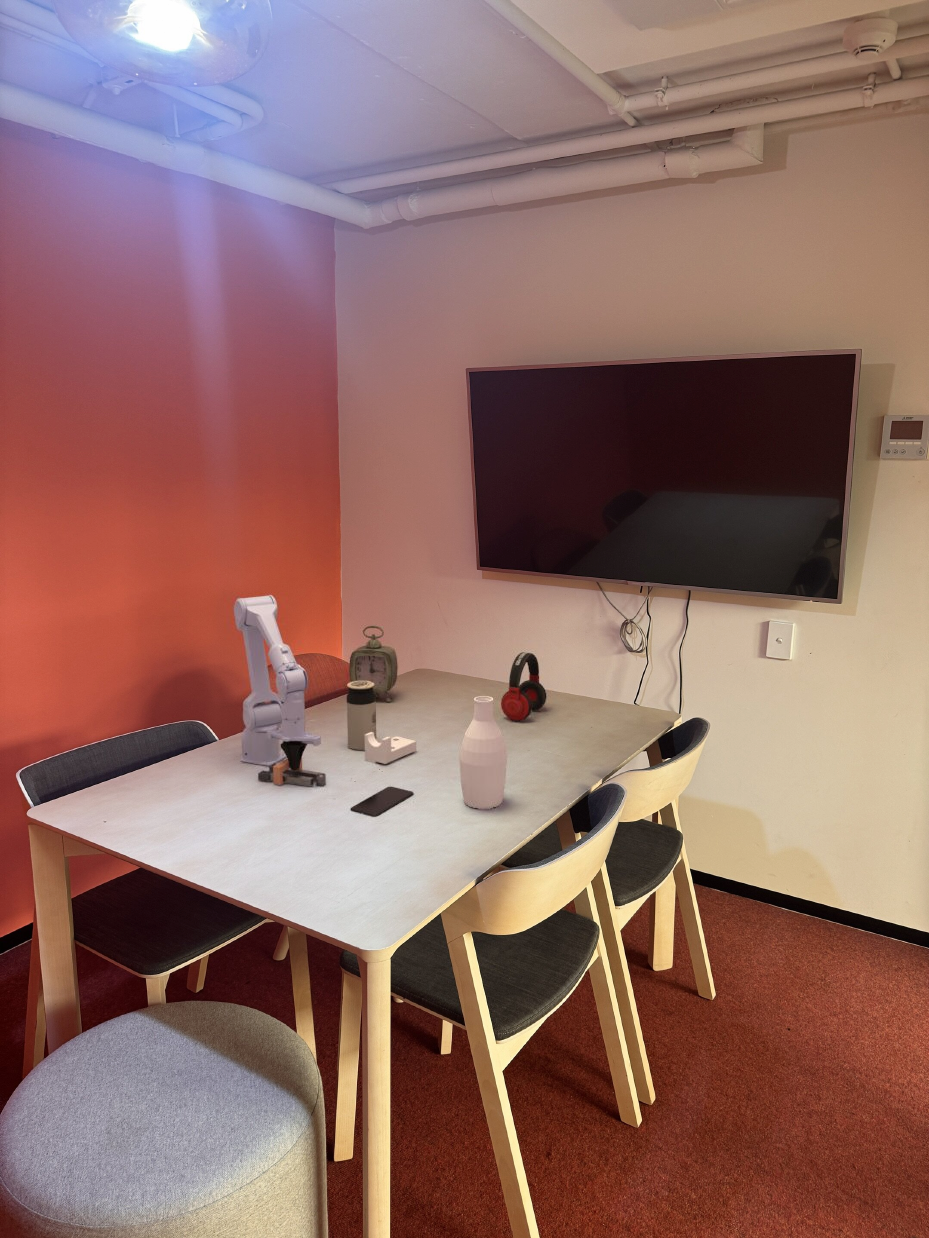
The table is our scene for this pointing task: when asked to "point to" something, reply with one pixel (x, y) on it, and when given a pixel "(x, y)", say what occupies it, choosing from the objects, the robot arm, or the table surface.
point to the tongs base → (306, 775)
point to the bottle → (483, 758)
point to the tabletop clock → (374, 665)
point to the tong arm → (287, 778)
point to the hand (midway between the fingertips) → (295, 768)
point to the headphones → (523, 689)
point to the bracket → (387, 748)
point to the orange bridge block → (279, 769)
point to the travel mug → (360, 713)
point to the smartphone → (382, 801)
